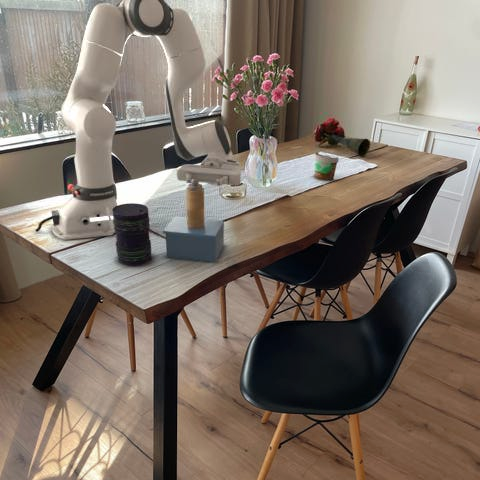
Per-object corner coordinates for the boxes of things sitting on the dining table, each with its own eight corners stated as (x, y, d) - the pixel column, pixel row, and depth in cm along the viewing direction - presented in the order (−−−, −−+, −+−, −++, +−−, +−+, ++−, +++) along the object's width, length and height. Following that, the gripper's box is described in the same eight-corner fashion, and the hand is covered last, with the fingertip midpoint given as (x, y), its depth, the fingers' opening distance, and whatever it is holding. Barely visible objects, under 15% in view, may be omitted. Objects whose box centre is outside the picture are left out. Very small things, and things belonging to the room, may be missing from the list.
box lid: (162, 233, 139) (162, 230, 138) (174, 218, 149) (174, 216, 148) (215, 238, 137) (215, 235, 136) (224, 223, 147) (224, 220, 146)
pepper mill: (191, 230, 139) (190, 182, 132) (184, 224, 143) (182, 177, 136) (207, 227, 142) (207, 180, 134) (199, 221, 145) (198, 175, 138)
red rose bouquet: (361, 171, 257) (314, 153, 278) (383, 144, 257) (334, 128, 279) (353, 150, 244) (304, 133, 266) (376, 123, 245) (325, 108, 267)
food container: (305, 176, 218) (308, 153, 213) (314, 174, 222) (317, 151, 216) (326, 183, 211) (329, 159, 205) (335, 180, 214) (339, 157, 209)
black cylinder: (112, 264, 137) (106, 213, 129) (124, 250, 145) (119, 201, 137) (146, 267, 136) (141, 217, 128) (156, 253, 144) (153, 204, 136)
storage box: (166, 257, 142) (165, 233, 139) (178, 241, 153) (177, 219, 149) (215, 262, 141) (215, 238, 137) (223, 245, 151) (224, 223, 147)
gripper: (182, 157, 157) (170, 168, 146) (244, 162, 155) (236, 174, 143) (183, 176, 161) (170, 189, 149) (243, 182, 158) (236, 195, 146)
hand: (203, 181), depth 146 cm, fingers open, 8 cm apart
